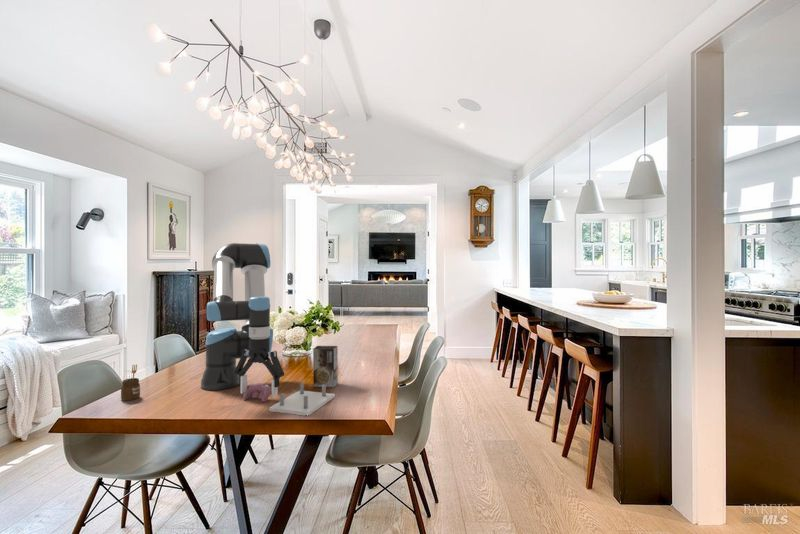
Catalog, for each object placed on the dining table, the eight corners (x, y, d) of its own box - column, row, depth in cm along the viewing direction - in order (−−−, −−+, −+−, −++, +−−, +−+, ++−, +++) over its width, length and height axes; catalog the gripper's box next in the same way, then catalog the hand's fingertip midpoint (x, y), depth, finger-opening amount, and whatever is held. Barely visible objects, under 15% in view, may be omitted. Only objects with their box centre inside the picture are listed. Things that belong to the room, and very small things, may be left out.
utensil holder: (117, 401, 143) (117, 368, 143) (126, 396, 149) (126, 364, 149) (135, 400, 144) (135, 368, 144) (143, 395, 150) (143, 364, 150)
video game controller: (270, 404, 146) (275, 385, 149) (262, 402, 142) (268, 382, 145) (248, 401, 149) (253, 382, 152) (240, 399, 145) (246, 380, 148)
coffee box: (338, 383, 168) (338, 345, 168) (334, 387, 161) (334, 348, 161) (317, 382, 168) (317, 345, 169) (312, 386, 162) (312, 348, 162)
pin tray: (269, 411, 134) (269, 395, 134) (299, 393, 154) (299, 380, 154) (308, 415, 130) (308, 400, 130) (334, 397, 149) (334, 383, 149)
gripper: (224, 337, 147) (224, 394, 147) (282, 340, 140) (282, 400, 140) (238, 334, 154) (237, 388, 154) (293, 337, 147) (293, 394, 147)
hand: (259, 394), depth 147 cm, fingers open, 13 cm apart
